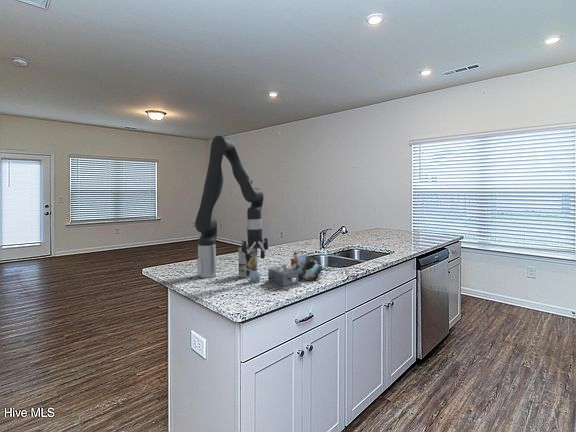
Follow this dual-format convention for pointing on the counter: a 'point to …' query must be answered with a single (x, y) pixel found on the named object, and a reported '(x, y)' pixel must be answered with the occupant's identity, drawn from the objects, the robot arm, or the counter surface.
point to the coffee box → (247, 262)
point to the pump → (254, 275)
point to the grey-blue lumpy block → (305, 267)
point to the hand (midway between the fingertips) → (255, 259)
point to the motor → (283, 277)
